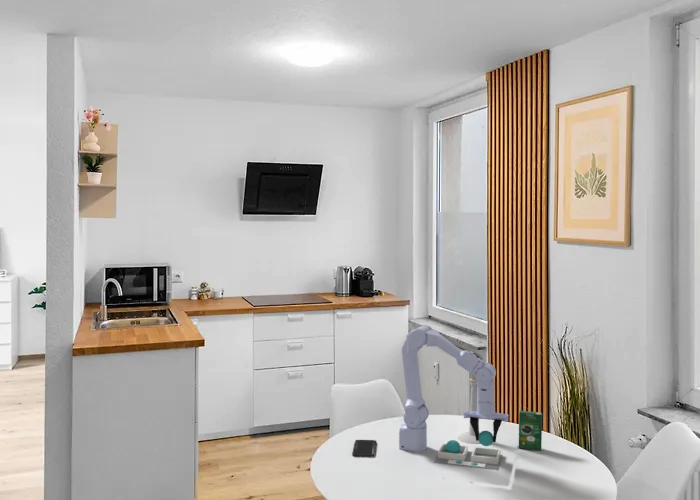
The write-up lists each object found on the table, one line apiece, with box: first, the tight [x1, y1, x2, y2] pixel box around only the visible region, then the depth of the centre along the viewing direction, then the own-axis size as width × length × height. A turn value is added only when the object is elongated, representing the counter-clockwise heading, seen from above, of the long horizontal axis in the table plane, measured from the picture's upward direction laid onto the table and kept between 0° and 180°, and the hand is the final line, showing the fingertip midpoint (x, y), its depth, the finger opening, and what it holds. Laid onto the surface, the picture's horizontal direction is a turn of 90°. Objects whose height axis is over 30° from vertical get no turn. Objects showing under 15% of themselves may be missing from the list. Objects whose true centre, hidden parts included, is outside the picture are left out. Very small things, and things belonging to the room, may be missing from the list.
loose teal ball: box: [478, 430, 494, 447], centre depth 210 cm, size 5×5×5 cm
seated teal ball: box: [445, 439, 461, 454], centre depth 214 cm, size 5×5×5 cm
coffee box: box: [518, 410, 543, 452], centre depth 222 cm, size 8×3×13 cm, turn 71°
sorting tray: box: [433, 443, 503, 471], centre depth 210 cm, size 21×14×3 cm, turn 71°
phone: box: [351, 439, 377, 458], centre depth 223 cm, size 8×1×15 cm
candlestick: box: [457, 373, 482, 445], centre depth 230 cm, size 13×13×30 cm
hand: (485, 440), depth 210 cm, fingers closed on loose teal ball, 5 cm apart
